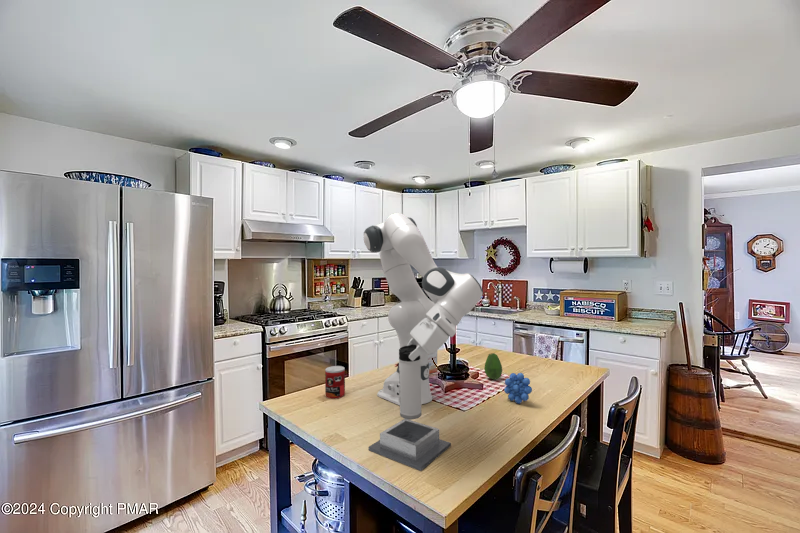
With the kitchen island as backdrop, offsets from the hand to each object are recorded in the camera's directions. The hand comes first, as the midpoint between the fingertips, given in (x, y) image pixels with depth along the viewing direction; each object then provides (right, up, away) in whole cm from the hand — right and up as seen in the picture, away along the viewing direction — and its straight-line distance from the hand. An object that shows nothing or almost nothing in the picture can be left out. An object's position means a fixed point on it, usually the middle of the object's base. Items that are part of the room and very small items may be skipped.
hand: (407, 355), depth 107 cm
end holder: (+1, -27, 0) cm, 27 cm away
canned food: (-29, -27, +43) cm, 58 cm away
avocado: (+41, -26, +63) cm, 79 cm away
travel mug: (+1, -18, +1) cm, 18 cm away
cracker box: (+9, -26, +72) cm, 78 cm away
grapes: (+43, -27, +35) cm, 62 cm away
